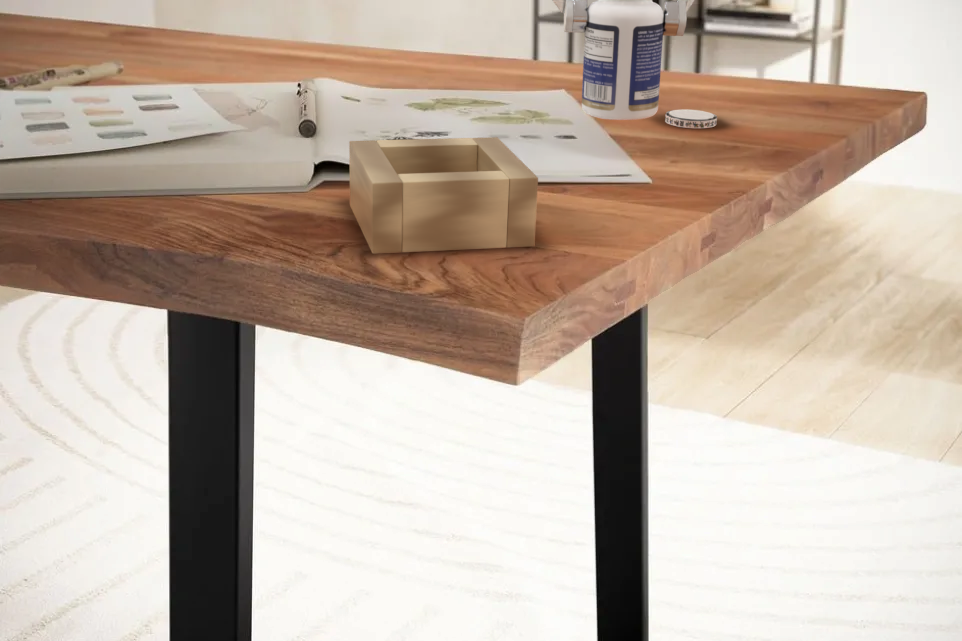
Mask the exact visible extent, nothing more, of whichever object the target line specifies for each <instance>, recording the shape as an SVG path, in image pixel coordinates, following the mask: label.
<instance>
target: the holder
mask: <svg viewBox="0 0 962 641" xmlns="http://www.w3.org/2000/svg"><path fill="white" fill-rule="evenodd" d="M348 144H349V145H348V146H349V147H348V149H349V150H348V151H349V152H348V153H349V154H348V156H349V159H348V160H349V164H348V165H349V206H350V209H351V210H352V213H353V216H354V217H355V219H356V221H357V223H358V226H359V228H360V230H361V232H362V234H363V236H364V237H363V238H364V239H365V241H366V243H367V245H368V248H369V249H370V252H371V254H393V253H394V254H395V253H415V252H437V251H438V252H439V251H458V250H459V251H461V250H480V249H481V250H482V249H502V248H504V249H505V248H525V247H526V248H527V247H535V246H536V245H535V244H536V242H535V241H536V225H537V207H538V206H537V205H538V190H539V188H538V187H539V177H538V175H536V174H535V173H534V172H533V171H532V170H531V169H530V168H529V167H528V166H527V165H526V164H525V163H524V162H523V161H522V160H521V159H520V158H519V157H518V156H517V155H516V154H515V153H514V152H513V150H511V149H510V148H509V147H508V146H507V145H506V144H505V143H504V142H503V141H502V140H501V139H500V138H499V137H497V136H495V137H494V136H493V137H492V136H491V137H488V136H487V137H454V138H453V137H452V138H448V137H447V138H414V139H413V138H412V139H410V138H409V139H377V140H373V139H372V140H350V141H349V143H348Z"/></svg>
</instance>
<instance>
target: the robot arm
mask: <svg viewBox="0 0 962 641" xmlns="http://www.w3.org/2000/svg"><path fill="white" fill-rule="evenodd" d="M552 2H553V3H554V5H555V6H556V8H557V9H558V10H559V11H560V12H561V14H563V33H583V34H585V31H586V26H587V18H588V12H587V8H588V0H552ZM694 2H695V0H673V1H672V0H671V1H669V0H667V1H666V0H665V1H664V3H663V6H662V10H663V12H664V27H663V37H665V36H669V37H684V34H685V31H686V28H687V21H688V20H687V17H688V15H687V12H688V11H689V10H690V8H691V6H692V5H693V4H694Z"/></svg>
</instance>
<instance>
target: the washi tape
mask: <svg viewBox="0 0 962 641" xmlns="http://www.w3.org/2000/svg"><path fill="white" fill-rule="evenodd" d="M717 121H718V116H717V115H716V114H714V113H712V112H708V111H705V110H699V109H687V108H685V109H682V108H681V109H672V110H669V111H666V112H665V118H664V122H665V123H666V124H667V125H670V126H674V127H678V128H684V129H685V128H686V129H710V128H713V127H715V126H717Z"/></svg>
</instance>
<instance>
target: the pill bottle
mask: <svg viewBox="0 0 962 641" xmlns="http://www.w3.org/2000/svg"><path fill="white" fill-rule="evenodd" d="M587 12H588V18H587V26H586V31H585V33H584V42H583V61H582V63H583V66H582V86H581V109H582V111H583V112H584V113H585V114H586V115H588V116H591V117H593V118H598V119H601V120H610V121H612V120H613V121H634V120H635V121H636V120H644V119H648V118H651V117H653V116H656V114H657V112H658V110H659V102H660V85H661V72H662V71H661V70H662V69H661V68H662V57H663V56H662V55H663V54H662V53H663V40H664V39H663V38H664V35H663V27H664V12H663V7H662V6H661V5H659V4H658V3H657V2H654V1H653V0H595V1H593V2H591V3H590V4H589V5H587Z"/></svg>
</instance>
